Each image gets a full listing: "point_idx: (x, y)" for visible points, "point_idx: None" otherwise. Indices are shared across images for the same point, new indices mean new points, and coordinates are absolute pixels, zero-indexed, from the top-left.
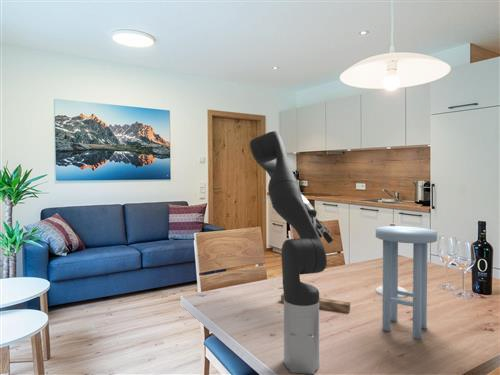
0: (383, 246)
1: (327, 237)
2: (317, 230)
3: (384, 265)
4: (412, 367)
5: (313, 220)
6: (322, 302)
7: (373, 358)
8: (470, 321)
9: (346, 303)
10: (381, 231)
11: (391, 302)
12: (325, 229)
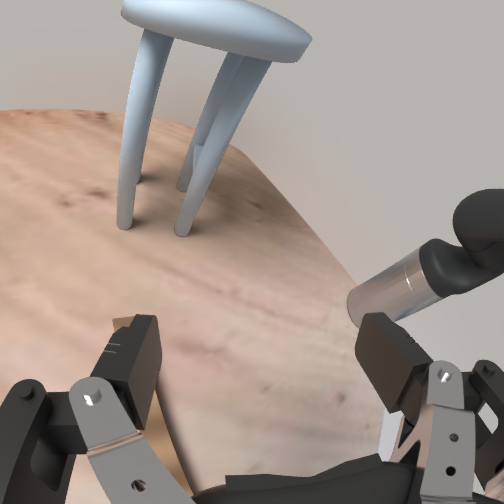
0: (262, 76)
1: (148, 371)
2: (410, 346)
3: (238, 123)
4: (276, 194)
5: (474, 446)
6: (155, 394)
7: (291, 235)
8: (79, 128)
9: (127, 326)
10: (303, 39)
11: (133, 200)
12: (96, 421)
